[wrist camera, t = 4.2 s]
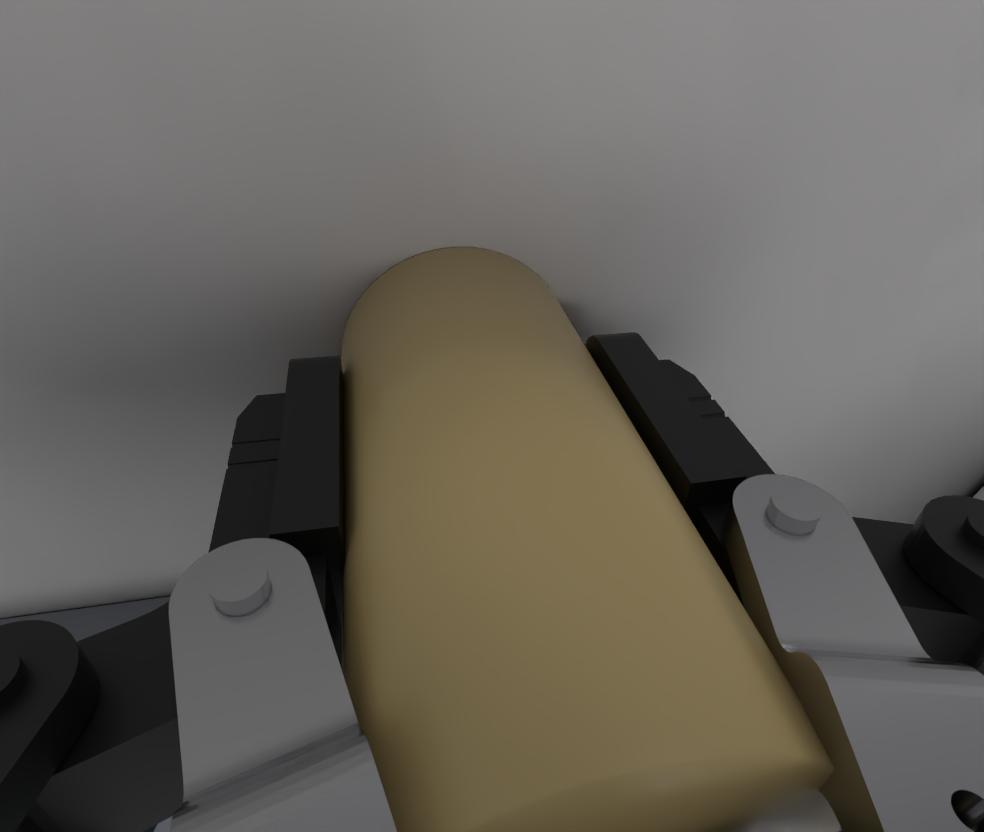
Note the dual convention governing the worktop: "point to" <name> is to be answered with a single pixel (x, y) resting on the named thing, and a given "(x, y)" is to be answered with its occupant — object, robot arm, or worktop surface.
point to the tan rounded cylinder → (540, 586)
